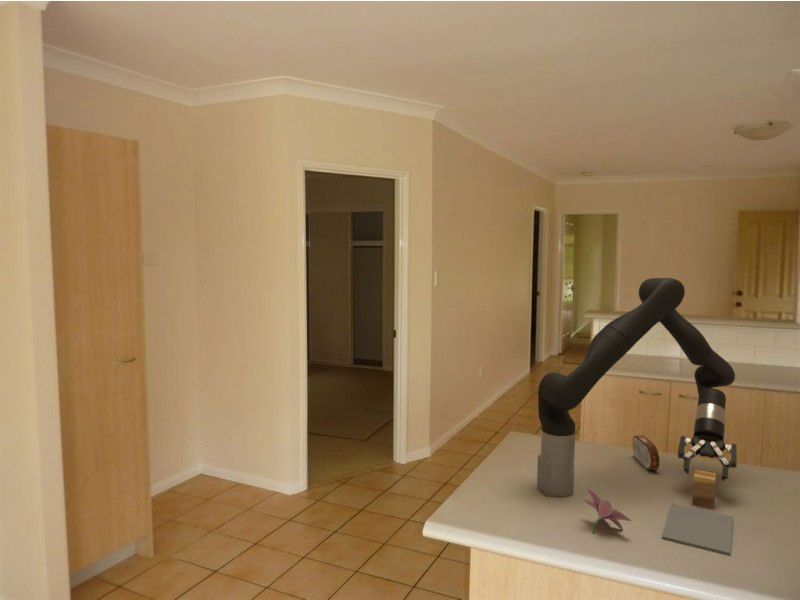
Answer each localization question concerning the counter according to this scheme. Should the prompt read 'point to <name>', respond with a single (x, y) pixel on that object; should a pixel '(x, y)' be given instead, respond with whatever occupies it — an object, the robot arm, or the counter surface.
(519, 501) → the counter surface
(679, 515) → the mat
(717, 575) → the counter surface
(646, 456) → the tin
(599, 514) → the lily
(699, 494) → the block
